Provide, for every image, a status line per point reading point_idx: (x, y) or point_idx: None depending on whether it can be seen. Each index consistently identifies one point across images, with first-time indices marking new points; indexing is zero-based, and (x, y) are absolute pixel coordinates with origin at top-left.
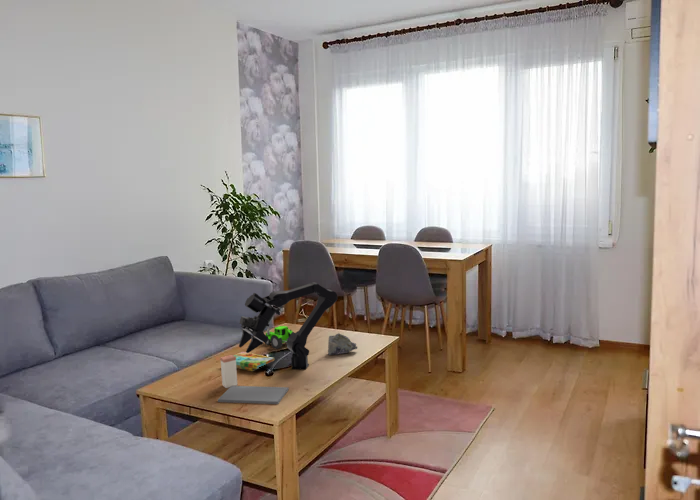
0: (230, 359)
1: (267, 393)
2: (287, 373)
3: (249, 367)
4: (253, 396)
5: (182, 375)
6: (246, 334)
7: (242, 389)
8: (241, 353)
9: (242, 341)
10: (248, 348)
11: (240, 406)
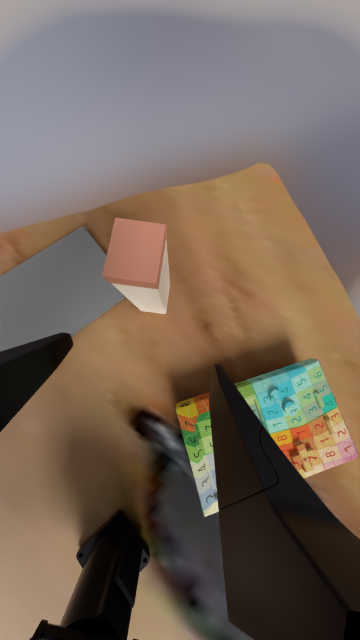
0: (110, 251)
1: (6, 324)
2: (103, 471)
3: (207, 393)
4: (23, 289)
5: (301, 251)
6: (264, 559)
7: (87, 294)
8: (336, 440)
9: (222, 408)
10: (23, 347)
11: (22, 250)
